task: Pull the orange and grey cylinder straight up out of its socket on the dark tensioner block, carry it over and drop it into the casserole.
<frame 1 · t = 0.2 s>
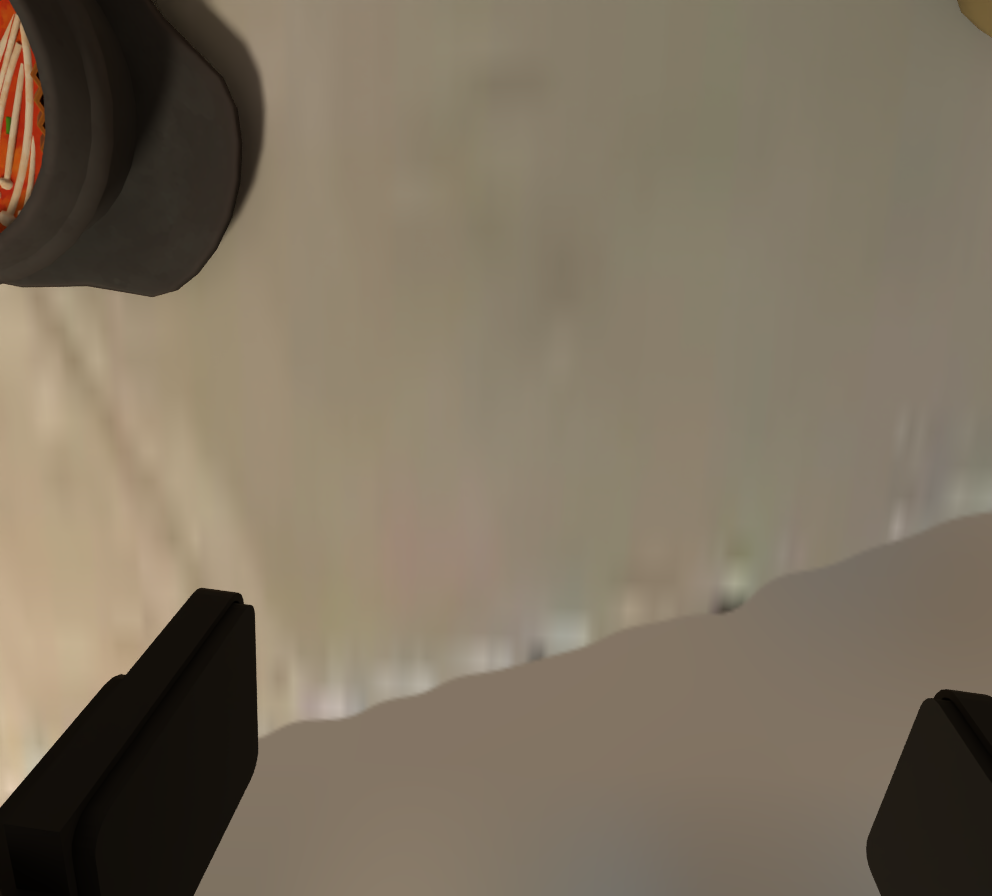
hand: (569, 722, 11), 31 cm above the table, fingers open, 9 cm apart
casserole: (20, 95, 38), on the table
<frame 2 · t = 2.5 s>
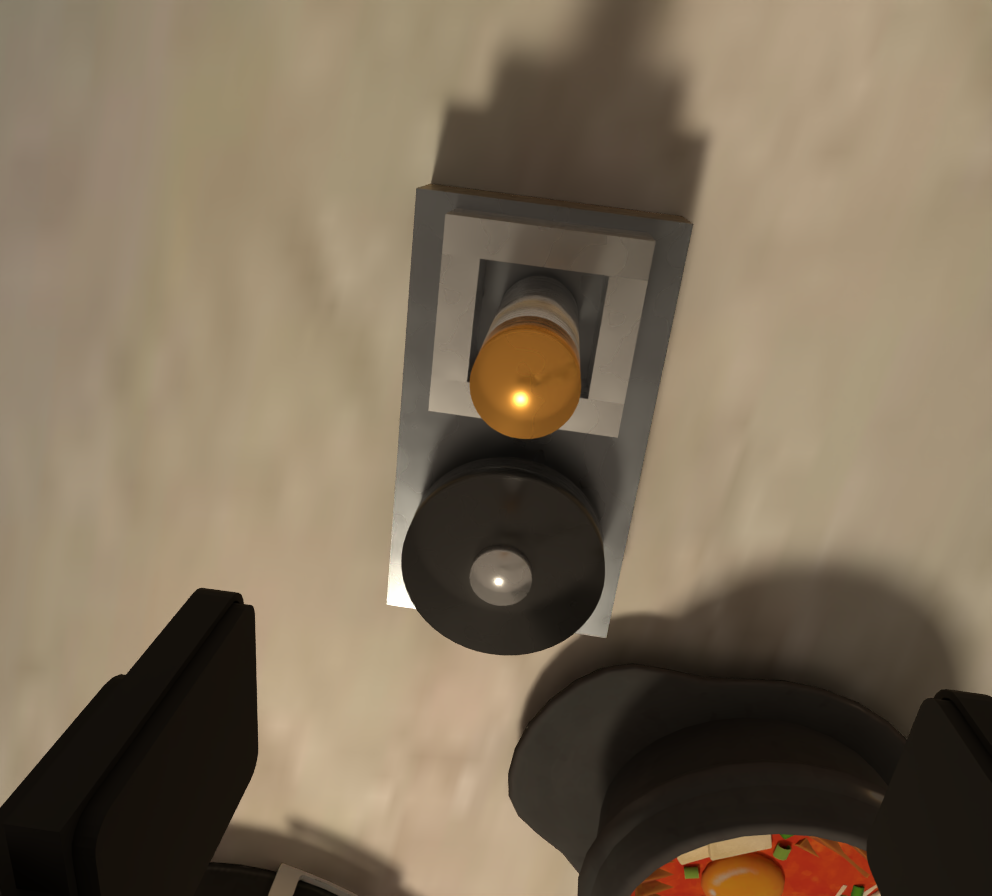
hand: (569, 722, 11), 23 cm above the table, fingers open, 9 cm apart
casserole: (734, 792, 41), on the table
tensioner: (525, 412, 33), on the table
orange and grey cylinder: (538, 315, 29), point 3 cm above the table, touching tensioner
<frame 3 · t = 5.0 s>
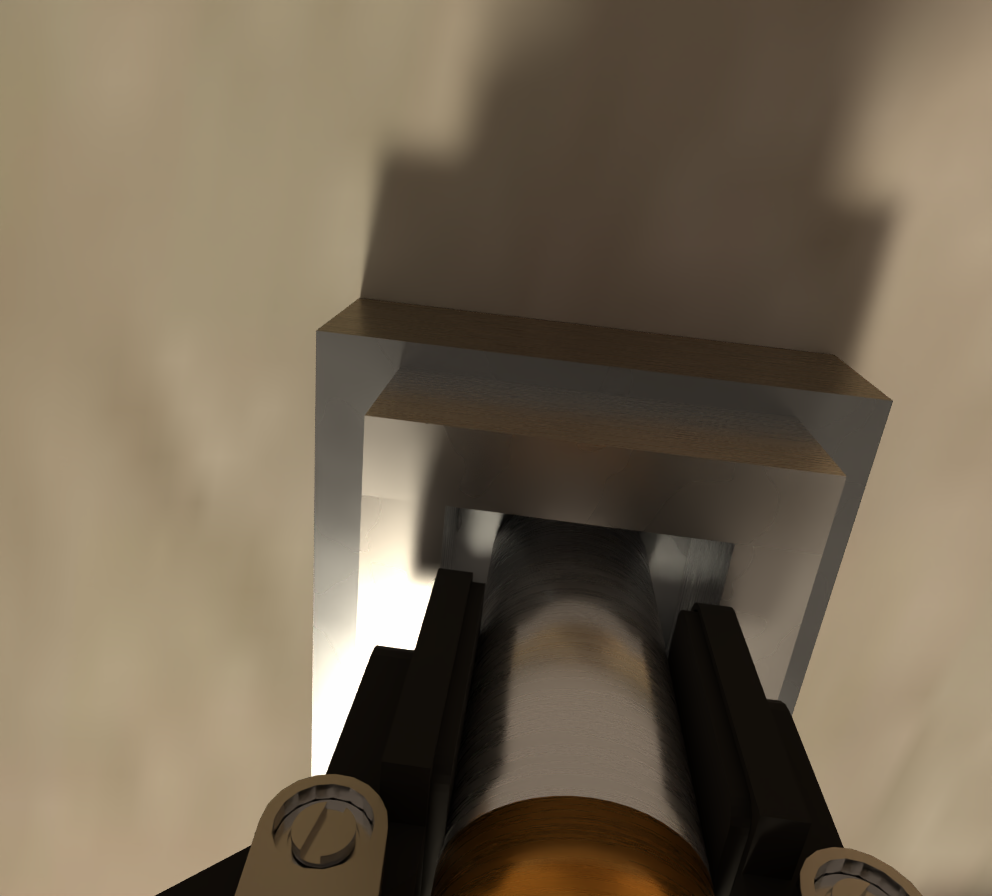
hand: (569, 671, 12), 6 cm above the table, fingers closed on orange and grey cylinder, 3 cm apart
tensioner: (540, 671, 19), on the table
orange and grey cylinder: (568, 564, 15), point 3 cm above the table, touching gripper, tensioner
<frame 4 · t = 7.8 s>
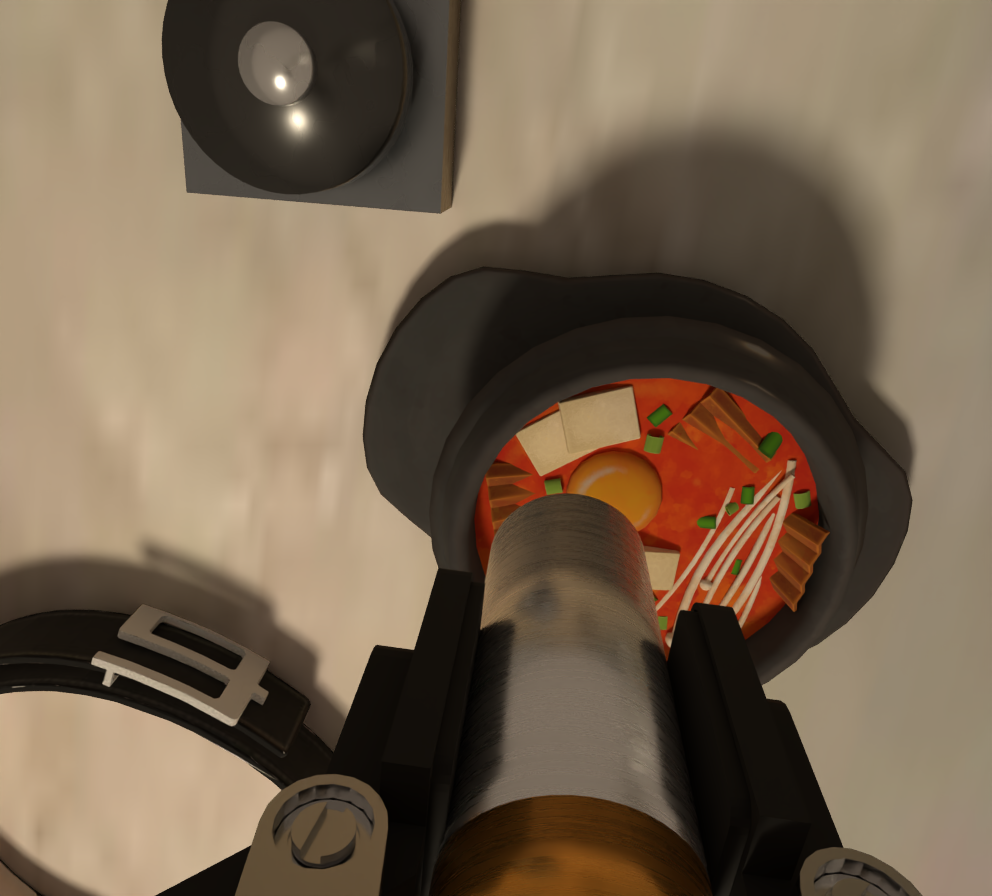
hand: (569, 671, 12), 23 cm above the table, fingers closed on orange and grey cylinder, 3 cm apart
casserole: (629, 464, 36), on the table
belt: (154, 801, 47), on the table
orange and grey cylinder: (566, 563, 15), point 20 cm above the table, touching gripper
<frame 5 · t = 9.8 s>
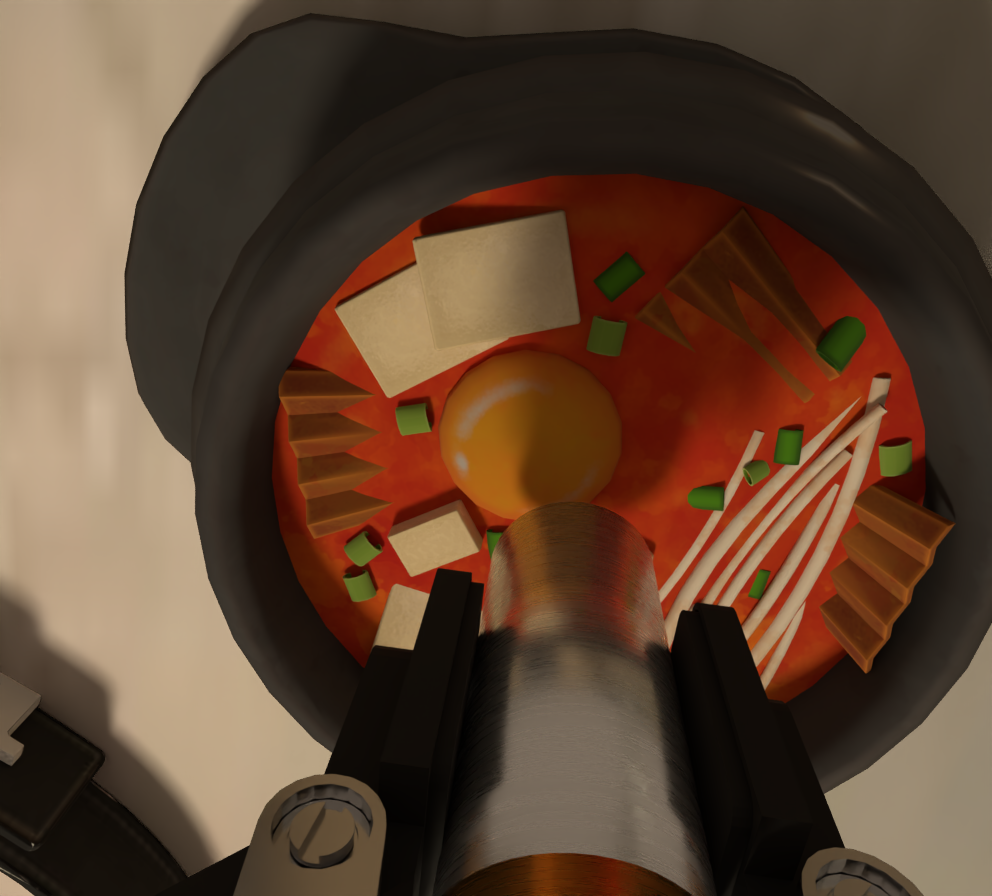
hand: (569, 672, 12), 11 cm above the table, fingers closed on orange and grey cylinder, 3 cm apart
casserole: (581, 404, 22), on the table, touching orange and grey cylinder
orange and grey cylinder: (571, 573, 14), point 8 cm above the table, touching casserole, gripper
when the fingers open (10 cm above the table, at t = 10.6 s): orange and grey cylinder stays where it is, resting on casserole.
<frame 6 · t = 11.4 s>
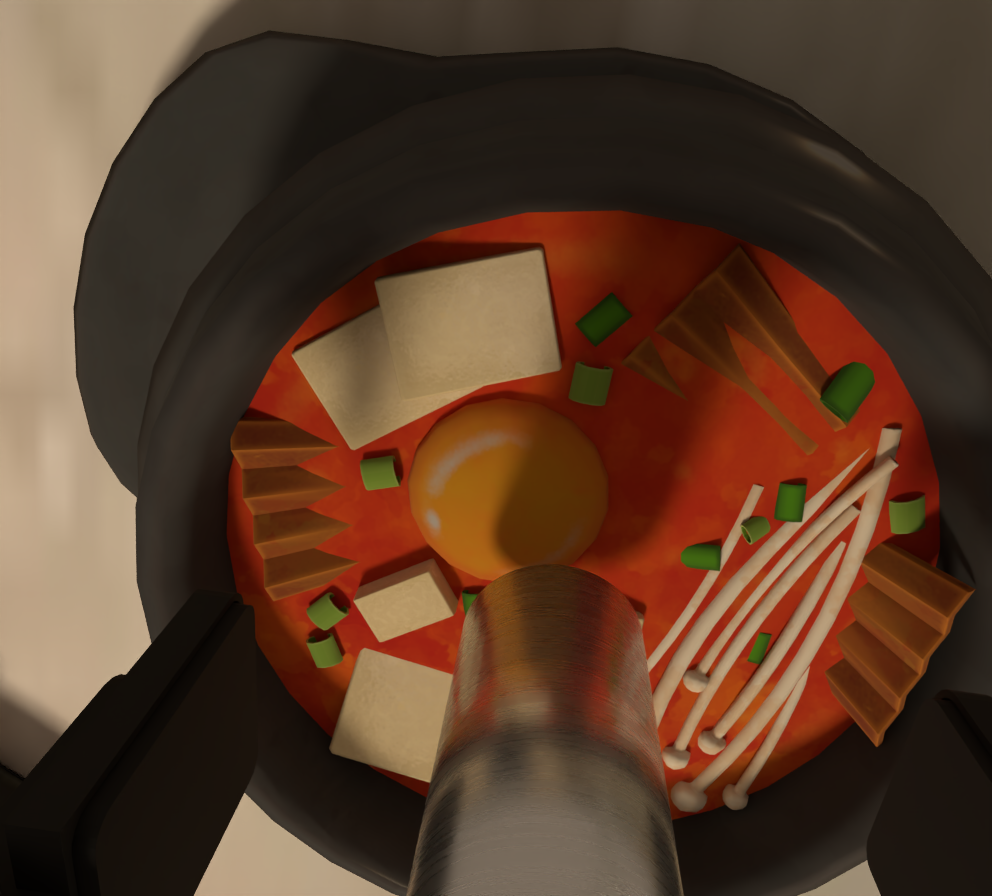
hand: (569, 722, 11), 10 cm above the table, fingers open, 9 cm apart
casserole: (567, 442, 20), on the table, touching orange and grey cylinder
orange and grey cylinder: (551, 642, 13), point 8 cm above the table, touching casserole
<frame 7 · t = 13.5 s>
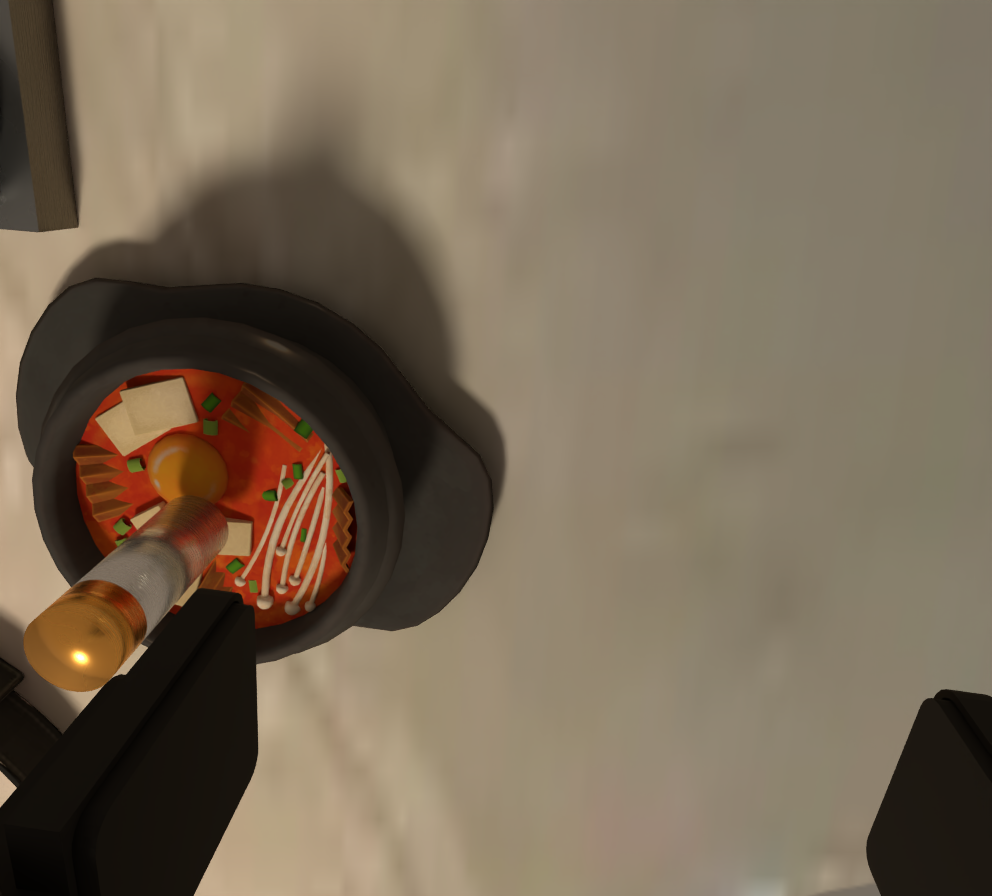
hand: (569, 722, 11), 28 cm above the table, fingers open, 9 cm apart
casserole: (269, 453, 40), on the table, touching orange and grey cylinder
orange and grey cylinder: (194, 527, 32), point 8 cm above the table, touching casserole
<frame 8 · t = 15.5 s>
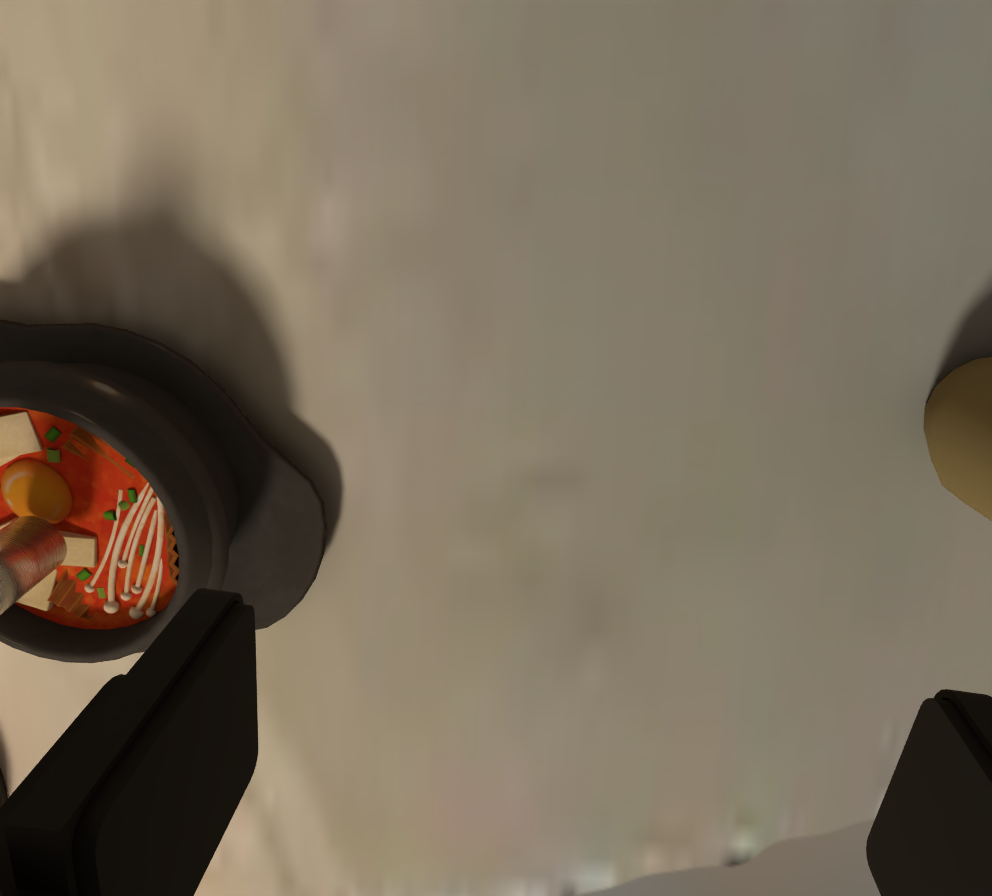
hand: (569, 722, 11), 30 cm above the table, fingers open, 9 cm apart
casserole: (134, 469, 45), on the table, touching orange and grey cylinder
orange and grey cylinder: (37, 543, 37), point 8 cm above the table, touching casserole
squeeze bottle: (979, 408, 39), on the table
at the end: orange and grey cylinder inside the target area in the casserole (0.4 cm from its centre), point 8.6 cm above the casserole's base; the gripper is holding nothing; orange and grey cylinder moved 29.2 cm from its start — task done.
